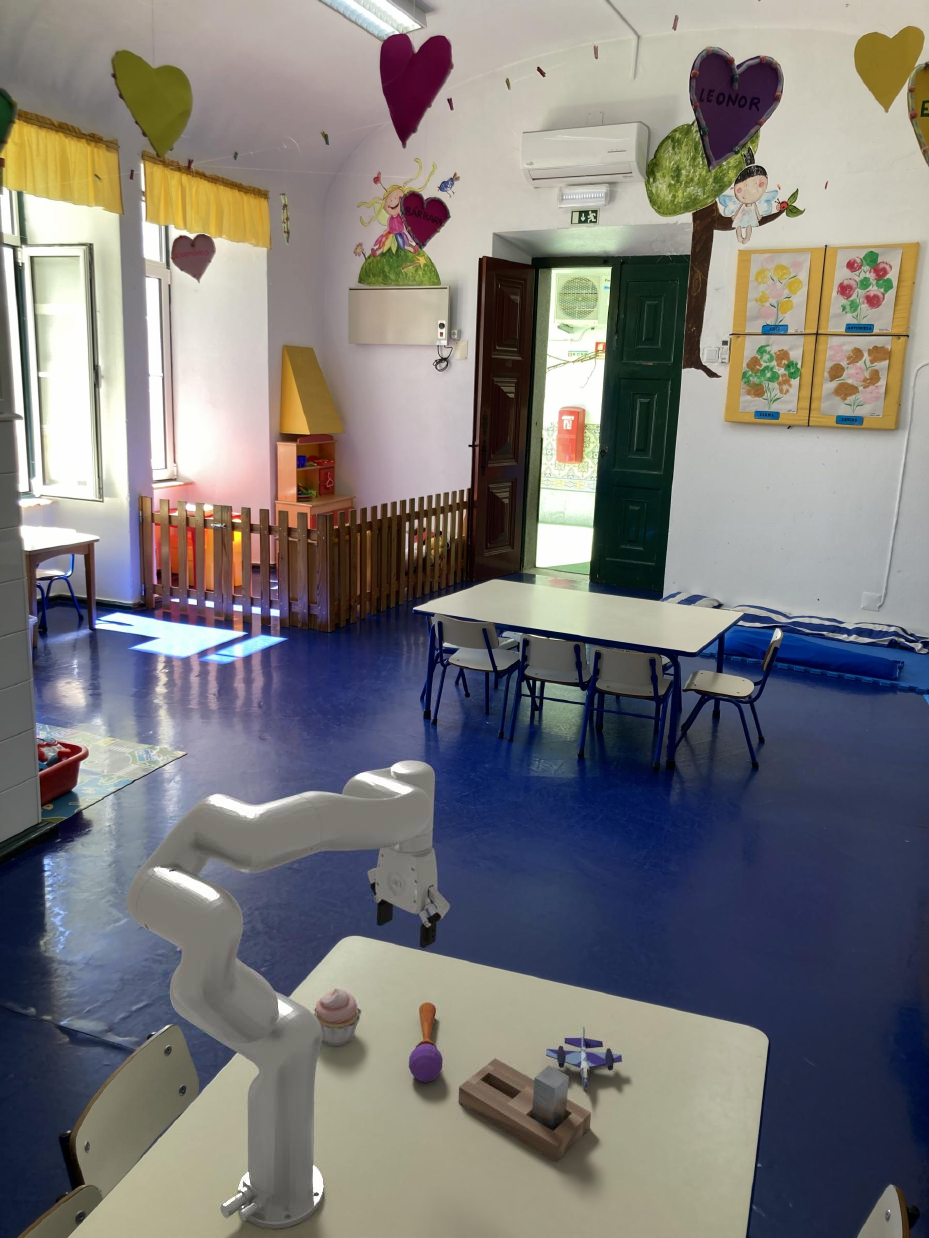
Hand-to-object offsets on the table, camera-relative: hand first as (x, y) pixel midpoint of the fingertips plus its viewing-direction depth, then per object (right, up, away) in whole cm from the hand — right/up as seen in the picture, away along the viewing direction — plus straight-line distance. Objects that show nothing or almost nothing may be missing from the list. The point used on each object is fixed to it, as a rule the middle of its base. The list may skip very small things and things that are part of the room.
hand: (405, 933), depth 160 cm
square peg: (+23, -32, 0) cm, 40 cm away
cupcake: (-14, -26, +21) cm, 36 cm away
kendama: (+3, -28, +18) cm, 33 cm away
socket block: (+20, -31, +3) cm, 37 cm away
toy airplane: (+31, -30, +13) cm, 45 cm away
